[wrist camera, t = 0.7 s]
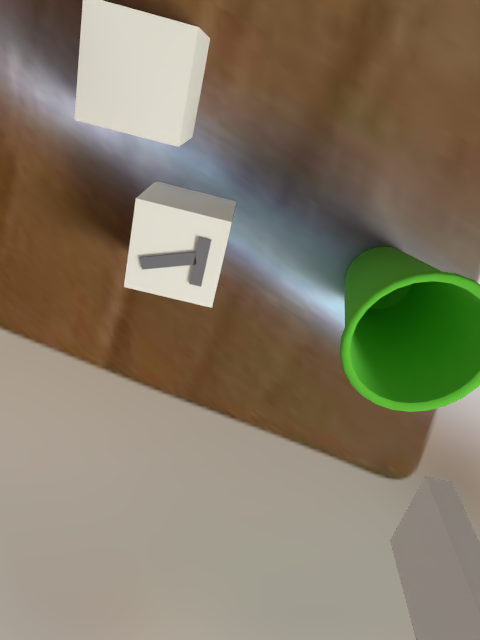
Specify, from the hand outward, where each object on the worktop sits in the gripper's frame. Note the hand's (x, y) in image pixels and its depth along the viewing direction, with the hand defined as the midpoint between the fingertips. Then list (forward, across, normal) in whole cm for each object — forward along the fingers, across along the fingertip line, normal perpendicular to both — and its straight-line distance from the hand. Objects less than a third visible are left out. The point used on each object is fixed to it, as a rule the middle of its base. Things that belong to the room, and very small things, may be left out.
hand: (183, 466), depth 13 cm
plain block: (+24, -7, +8) cm, 27 cm away
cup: (+24, +12, -2) cm, 27 cm away
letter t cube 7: (+24, -3, -1) cm, 25 cm away
